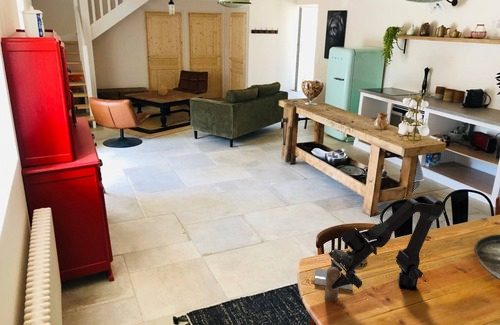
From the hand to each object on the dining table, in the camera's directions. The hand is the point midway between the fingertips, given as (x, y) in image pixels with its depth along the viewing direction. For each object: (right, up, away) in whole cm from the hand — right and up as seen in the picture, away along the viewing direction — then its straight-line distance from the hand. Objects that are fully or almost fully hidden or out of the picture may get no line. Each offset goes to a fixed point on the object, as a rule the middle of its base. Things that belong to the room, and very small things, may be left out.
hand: (329, 283), depth 154 cm
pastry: (+18, +1, +26) cm, 31 cm away
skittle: (+1, -6, +3) cm, 7 cm away
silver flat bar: (+3, -4, +9) cm, 11 cm away
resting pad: (+1, -1, +16) cm, 16 cm away
